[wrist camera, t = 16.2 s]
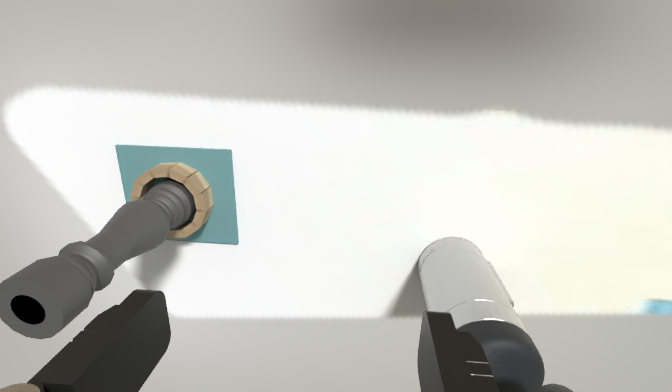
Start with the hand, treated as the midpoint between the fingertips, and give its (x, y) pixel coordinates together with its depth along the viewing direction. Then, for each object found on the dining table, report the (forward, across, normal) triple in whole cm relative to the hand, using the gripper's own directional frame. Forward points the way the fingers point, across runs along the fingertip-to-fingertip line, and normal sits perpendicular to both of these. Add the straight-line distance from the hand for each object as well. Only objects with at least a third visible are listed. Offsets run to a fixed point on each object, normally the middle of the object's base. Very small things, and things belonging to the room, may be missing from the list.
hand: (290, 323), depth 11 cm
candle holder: (+38, +23, +11) cm, 46 cm away
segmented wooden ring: (+38, +24, +11) cm, 46 cm away
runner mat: (+38, +24, +11) cm, 46 cm away
